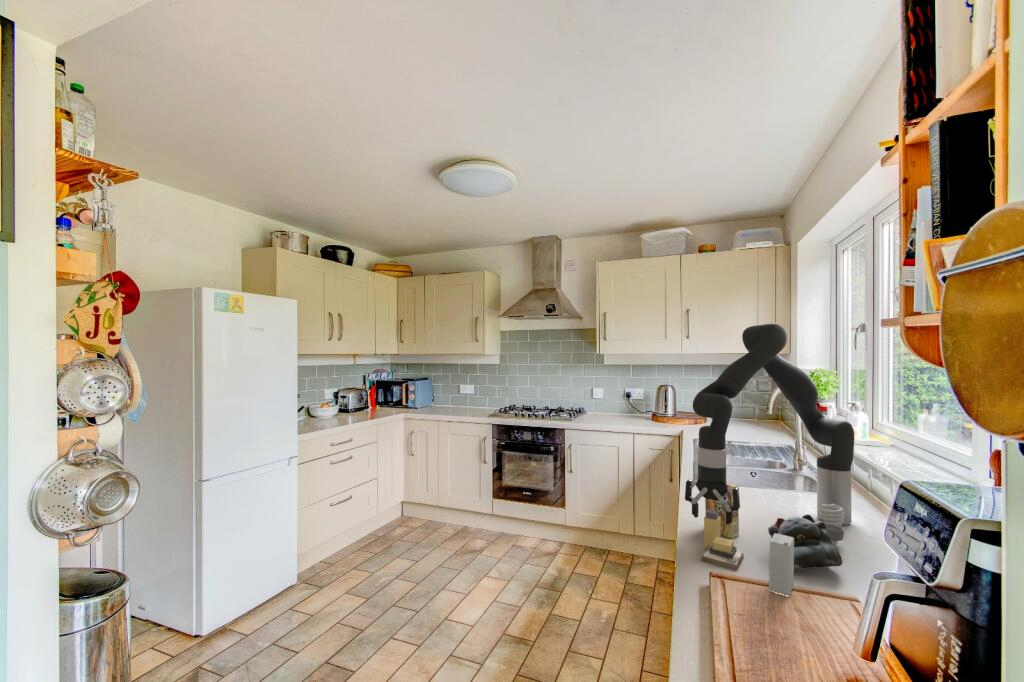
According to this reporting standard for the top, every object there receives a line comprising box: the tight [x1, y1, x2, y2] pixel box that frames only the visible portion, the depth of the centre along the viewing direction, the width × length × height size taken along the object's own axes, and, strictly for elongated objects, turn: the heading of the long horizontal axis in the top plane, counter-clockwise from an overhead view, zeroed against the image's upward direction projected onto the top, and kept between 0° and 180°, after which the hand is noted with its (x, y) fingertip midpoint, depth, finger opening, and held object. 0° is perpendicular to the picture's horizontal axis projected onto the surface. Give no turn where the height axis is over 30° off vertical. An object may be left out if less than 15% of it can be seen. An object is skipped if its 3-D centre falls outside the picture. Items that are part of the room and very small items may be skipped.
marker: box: [703, 509, 722, 549], centre depth 128 cm, size 4×4×10 cm
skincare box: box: [768, 533, 795, 597], centre depth 105 cm, size 6×4×12 cm
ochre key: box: [713, 537, 735, 554], centre depth 121 cm, size 4×4×2 cm
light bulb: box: [820, 504, 845, 547], centre depth 129 cm, size 6×6×12 cm
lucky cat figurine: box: [767, 514, 843, 571], centre depth 118 cm, size 15×12×14 cm
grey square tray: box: [700, 545, 745, 571], centre depth 120 cm, size 8×9×3 cm
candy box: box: [704, 481, 740, 539], centre depth 138 cm, size 9×4×15 cm, turn 33°
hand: (711, 520), depth 128 cm, fingers open, 8 cm apart
